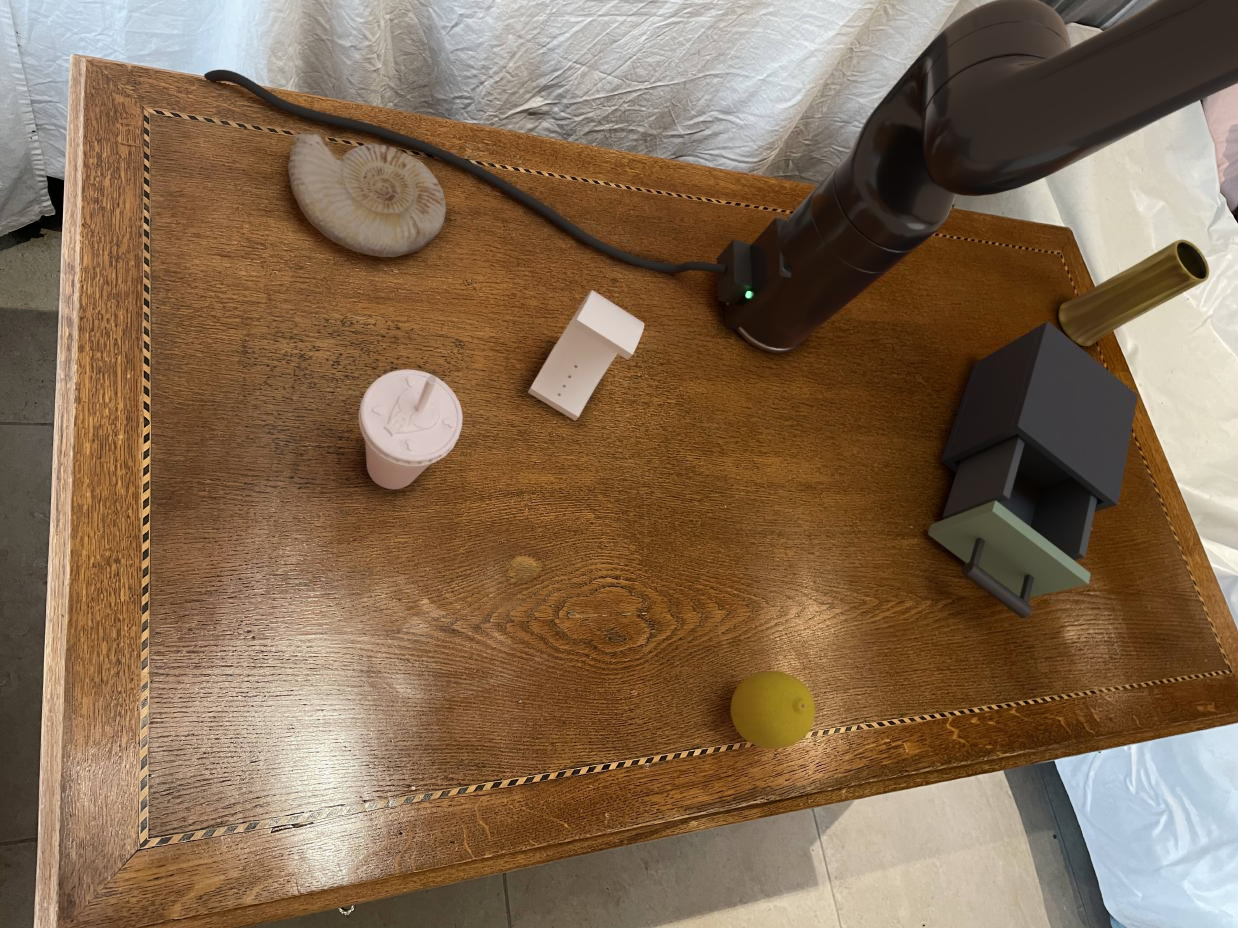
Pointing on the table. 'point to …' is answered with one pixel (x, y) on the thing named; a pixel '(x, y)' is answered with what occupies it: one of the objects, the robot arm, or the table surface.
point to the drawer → (1017, 523)
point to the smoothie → (407, 425)
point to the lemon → (772, 709)
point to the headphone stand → (585, 354)
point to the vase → (1133, 292)
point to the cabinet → (1049, 410)
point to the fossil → (366, 196)
